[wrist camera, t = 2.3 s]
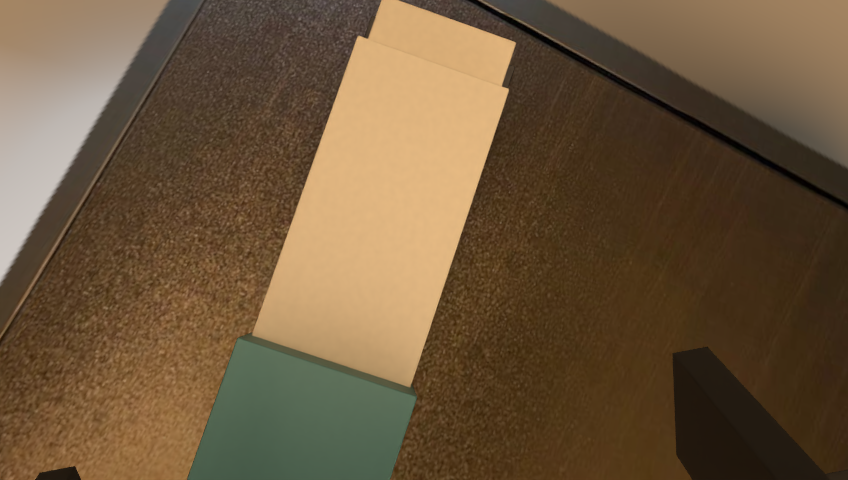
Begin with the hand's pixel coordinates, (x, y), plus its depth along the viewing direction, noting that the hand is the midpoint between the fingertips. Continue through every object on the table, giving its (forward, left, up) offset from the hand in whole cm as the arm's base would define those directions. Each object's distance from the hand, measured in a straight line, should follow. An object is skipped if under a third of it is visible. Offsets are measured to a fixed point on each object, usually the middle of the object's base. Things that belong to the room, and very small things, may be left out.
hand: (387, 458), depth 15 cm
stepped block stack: (-4, +3, -22) cm, 22 cm away
